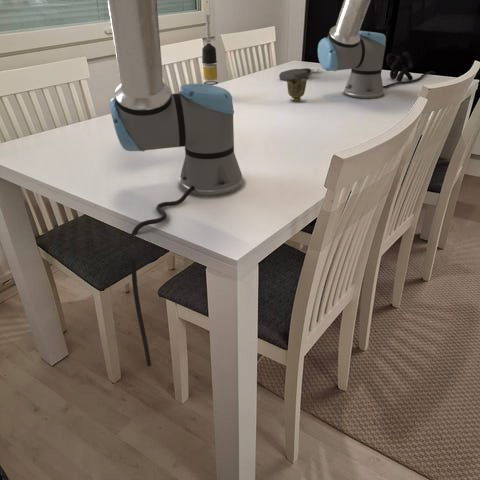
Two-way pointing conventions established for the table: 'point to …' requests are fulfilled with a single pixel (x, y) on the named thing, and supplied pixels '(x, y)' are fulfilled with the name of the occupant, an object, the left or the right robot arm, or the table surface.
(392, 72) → the squiggle
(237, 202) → the table surface
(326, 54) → the right robot arm
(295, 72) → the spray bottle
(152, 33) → the left robot arm
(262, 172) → the table surface
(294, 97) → the cup
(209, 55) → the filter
